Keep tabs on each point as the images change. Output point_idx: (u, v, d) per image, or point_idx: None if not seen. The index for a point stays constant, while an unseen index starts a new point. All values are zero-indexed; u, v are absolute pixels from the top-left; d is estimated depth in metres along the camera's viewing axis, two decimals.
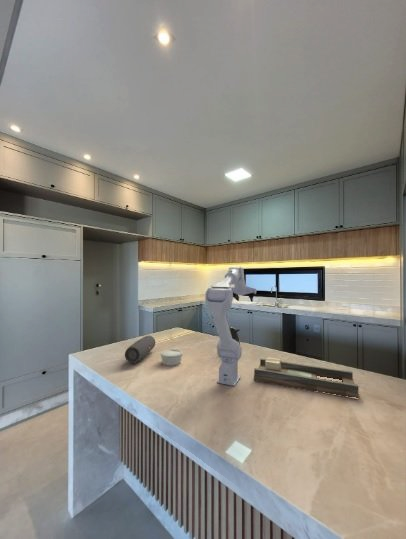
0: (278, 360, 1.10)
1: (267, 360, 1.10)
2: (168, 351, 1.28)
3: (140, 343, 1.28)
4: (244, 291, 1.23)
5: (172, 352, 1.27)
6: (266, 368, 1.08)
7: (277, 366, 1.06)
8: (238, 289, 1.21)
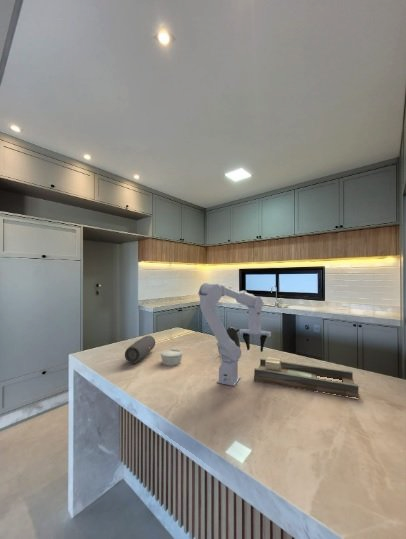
0: (278, 360, 1.10)
1: (267, 360, 1.10)
2: (168, 351, 1.28)
3: (140, 343, 1.28)
4: (258, 329, 1.11)
5: (172, 352, 1.27)
6: (266, 368, 1.08)
7: (277, 366, 1.06)
8: (252, 323, 1.12)
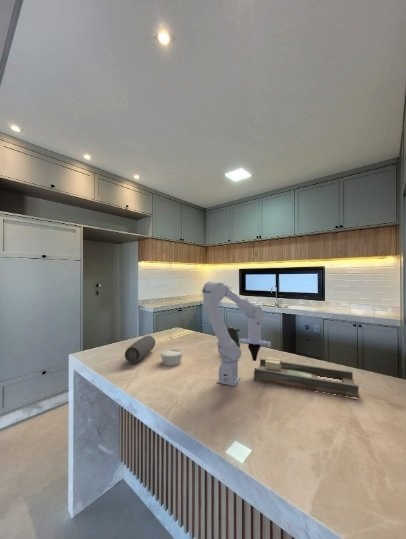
0: (278, 360, 1.10)
1: (267, 360, 1.10)
2: (168, 351, 1.28)
3: (140, 343, 1.28)
4: (258, 339, 1.11)
5: (172, 352, 1.27)
6: (266, 368, 1.08)
7: (277, 366, 1.06)
8: (252, 333, 1.11)
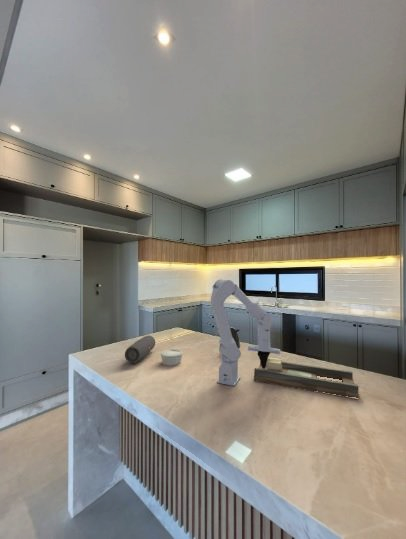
0: (279, 360, 1.10)
1: (268, 360, 1.10)
2: (168, 351, 1.28)
3: (140, 343, 1.28)
4: (267, 347, 1.09)
5: (172, 352, 1.27)
6: (267, 368, 1.08)
7: (279, 367, 1.06)
8: (261, 341, 1.10)
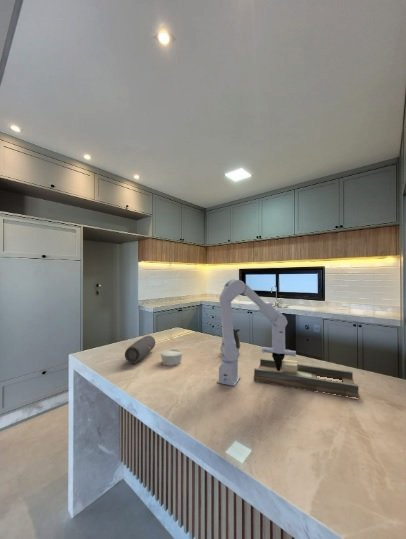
0: (295, 362, 1.07)
1: (284, 362, 1.07)
2: (168, 351, 1.28)
3: (140, 343, 1.28)
4: (282, 348, 1.07)
5: (172, 352, 1.27)
6: (283, 370, 1.06)
7: (295, 369, 1.03)
8: (276, 342, 1.07)
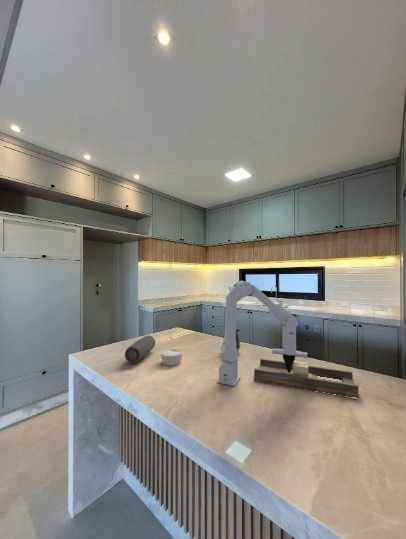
0: (306, 364, 1.05)
1: (294, 364, 1.05)
2: (168, 351, 1.28)
3: (140, 343, 1.28)
4: (293, 350, 1.05)
5: (172, 352, 1.27)
6: (293, 372, 1.04)
7: (306, 371, 1.02)
8: (287, 344, 1.05)
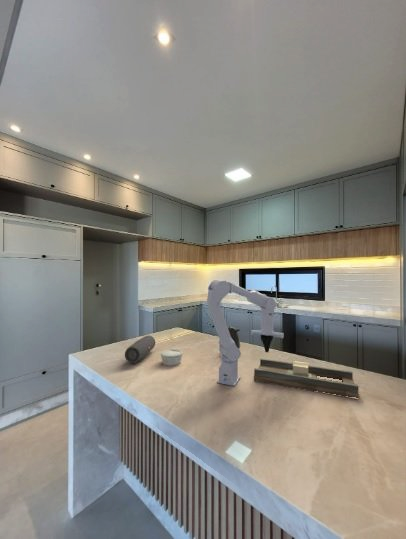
0: (306, 364, 1.05)
1: (294, 364, 1.05)
2: (168, 351, 1.28)
3: (140, 343, 1.28)
4: (270, 330, 1.10)
5: (172, 352, 1.27)
6: (293, 372, 1.04)
7: (306, 371, 1.02)
8: (265, 324, 1.10)
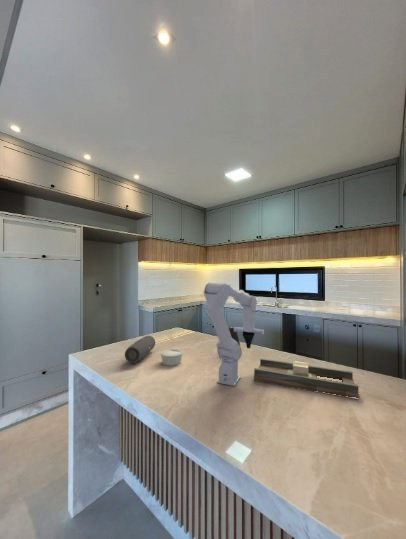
0: (306, 364, 1.05)
1: (294, 364, 1.05)
2: (168, 351, 1.28)
3: (140, 343, 1.28)
4: (251, 327, 1.15)
5: (172, 352, 1.27)
6: (293, 372, 1.04)
7: (306, 371, 1.02)
8: (246, 322, 1.16)
